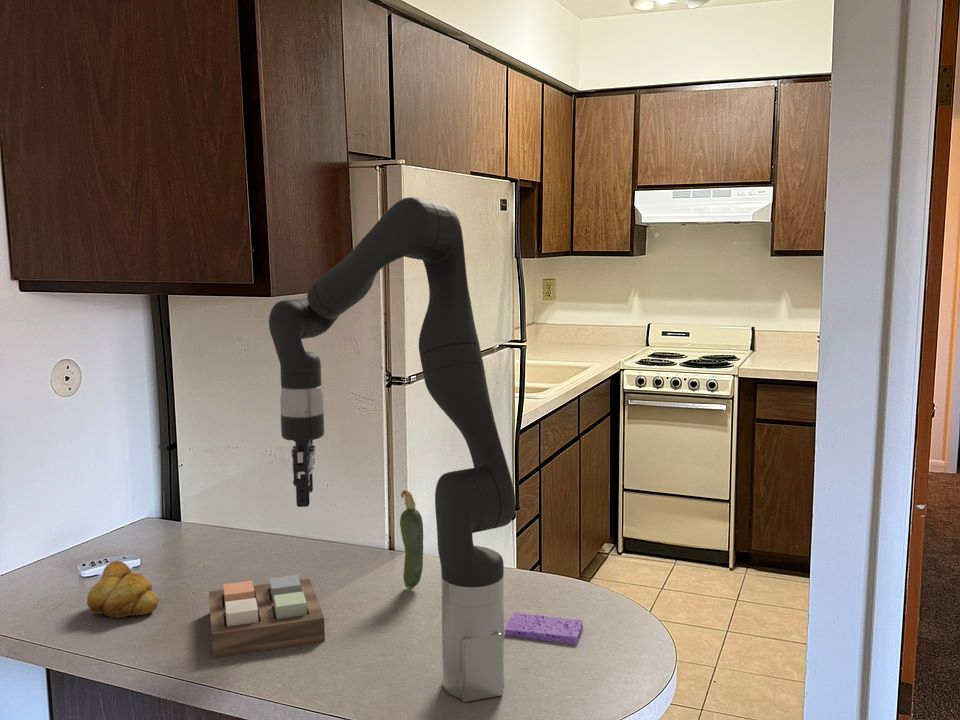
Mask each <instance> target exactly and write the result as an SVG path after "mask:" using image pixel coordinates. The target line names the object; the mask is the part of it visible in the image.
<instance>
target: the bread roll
mask: <svg viewBox="0 0 960 720" xmlns="http://www.w3.org/2000/svg"><path fill="white" fill-rule="evenodd" d="M152 586H153V585H152V584H151V581H150V580H149V579H148V578H147V577H145V576H144V575H143V574H141V573H138V572H133V571H132V569H131V568H130V567H129V566H128V565H127V564H126V563H125V562H123V561H121V560H120V561H119V560H115V561H111V562H110V563H108V564H107V565H106V566H105V567H104V569H103V571H102V574H101V578H100V580H98V581H96V583H95V584H94V585H93V586H92V587H91V588H90V589H89V592H88V594H87V599H86V605H87V607H88V608H89V609H90V611H91V612H93V613H94V614H98V615H99V614H100V615H103V613H104V615H105V616H106V617H110V618H124V617H125V618H126V617H128V616H135V615H136V616H138V615H141V616H143V615H147V614H150V613H152V612H154V611H155V610H156V609H157V607H158V604H159V596H158V594H157V593H156V591H153V587H152ZM138 617H139V616H138Z"/></svg>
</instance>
